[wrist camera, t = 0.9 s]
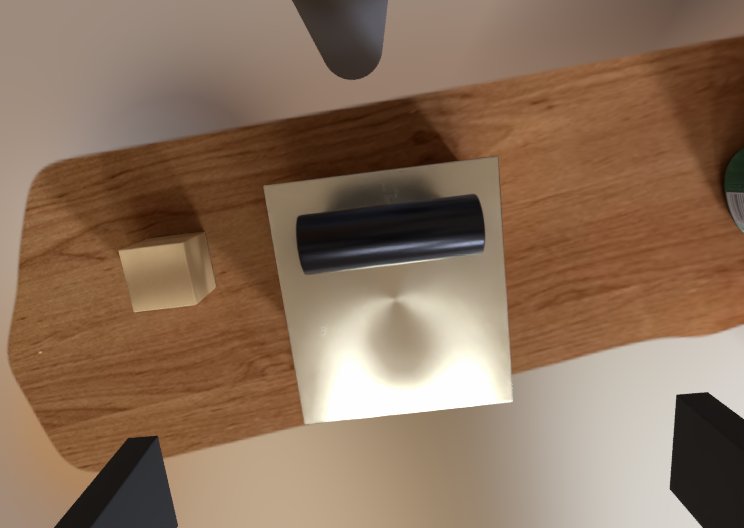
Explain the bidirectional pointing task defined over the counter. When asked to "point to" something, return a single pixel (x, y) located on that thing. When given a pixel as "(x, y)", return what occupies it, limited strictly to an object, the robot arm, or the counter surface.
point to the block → (168, 271)
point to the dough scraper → (394, 289)
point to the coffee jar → (735, 188)
